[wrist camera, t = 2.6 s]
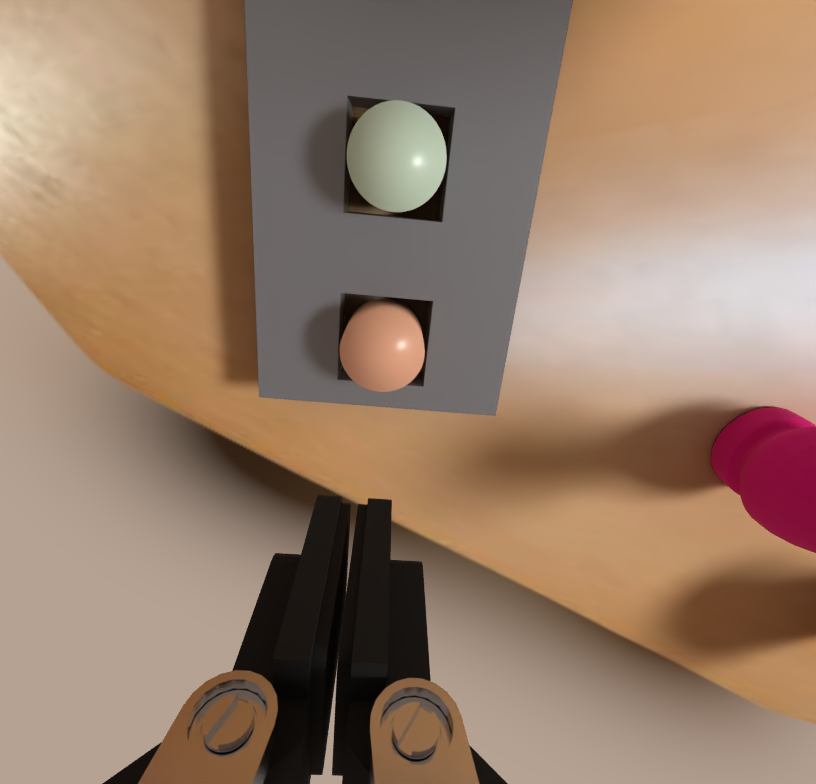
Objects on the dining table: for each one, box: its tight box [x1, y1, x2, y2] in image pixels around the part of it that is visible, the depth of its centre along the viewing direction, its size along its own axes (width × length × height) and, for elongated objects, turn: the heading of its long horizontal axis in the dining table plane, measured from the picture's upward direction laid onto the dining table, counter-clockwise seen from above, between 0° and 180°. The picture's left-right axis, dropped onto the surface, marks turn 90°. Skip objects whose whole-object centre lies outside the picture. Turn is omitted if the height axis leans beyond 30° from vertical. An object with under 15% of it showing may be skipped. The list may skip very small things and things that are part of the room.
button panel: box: [244, 0, 573, 416], centre depth 23 cm, size 26×14×2 cm, turn 175°
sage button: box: [347, 100, 447, 212], centre depth 21 cm, size 4×4×3 cm
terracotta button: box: [340, 299, 425, 392], centre depth 25 cm, size 4×4×3 cm
